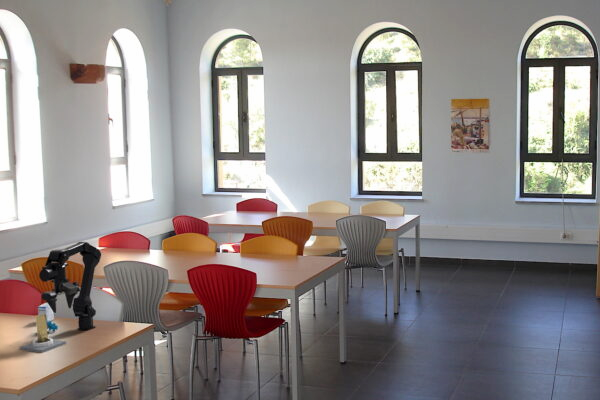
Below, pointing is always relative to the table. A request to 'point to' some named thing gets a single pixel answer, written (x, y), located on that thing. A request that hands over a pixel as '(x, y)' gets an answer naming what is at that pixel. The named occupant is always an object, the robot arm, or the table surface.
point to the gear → (51, 326)
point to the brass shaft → (41, 328)
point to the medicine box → (46, 311)
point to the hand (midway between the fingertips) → (62, 310)
